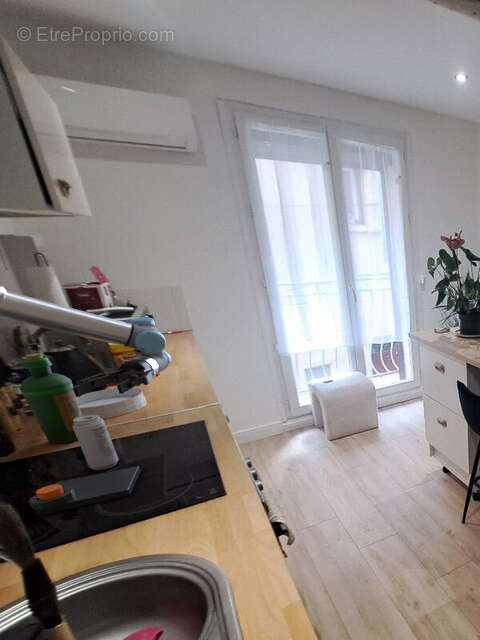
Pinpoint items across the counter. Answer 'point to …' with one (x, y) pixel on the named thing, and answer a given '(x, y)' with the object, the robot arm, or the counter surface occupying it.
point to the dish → (111, 402)
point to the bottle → (50, 399)
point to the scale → (89, 490)
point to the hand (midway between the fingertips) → (98, 390)
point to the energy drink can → (95, 442)
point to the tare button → (49, 492)
